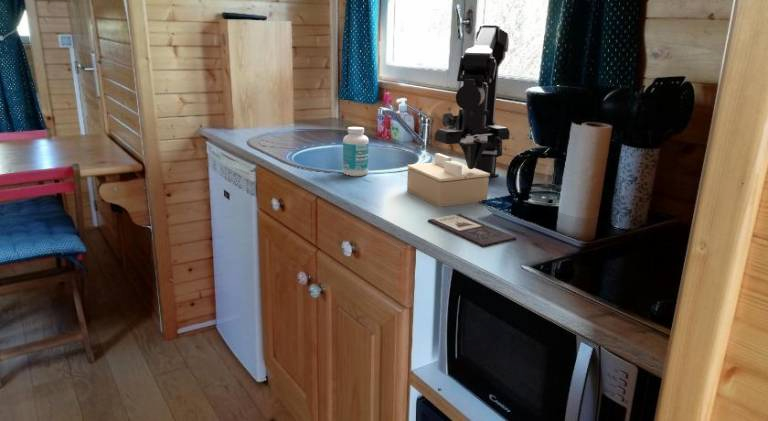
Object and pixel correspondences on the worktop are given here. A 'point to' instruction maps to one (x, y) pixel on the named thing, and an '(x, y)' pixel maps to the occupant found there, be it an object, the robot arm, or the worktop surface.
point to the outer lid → (439, 171)
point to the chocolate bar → (472, 230)
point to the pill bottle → (355, 152)
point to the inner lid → (465, 171)
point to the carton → (447, 189)
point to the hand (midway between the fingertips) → (470, 168)
